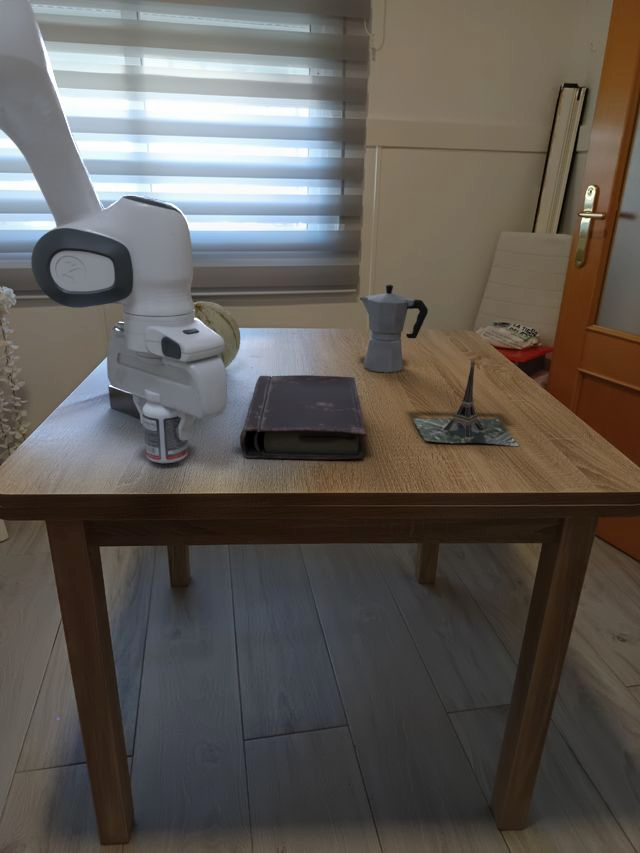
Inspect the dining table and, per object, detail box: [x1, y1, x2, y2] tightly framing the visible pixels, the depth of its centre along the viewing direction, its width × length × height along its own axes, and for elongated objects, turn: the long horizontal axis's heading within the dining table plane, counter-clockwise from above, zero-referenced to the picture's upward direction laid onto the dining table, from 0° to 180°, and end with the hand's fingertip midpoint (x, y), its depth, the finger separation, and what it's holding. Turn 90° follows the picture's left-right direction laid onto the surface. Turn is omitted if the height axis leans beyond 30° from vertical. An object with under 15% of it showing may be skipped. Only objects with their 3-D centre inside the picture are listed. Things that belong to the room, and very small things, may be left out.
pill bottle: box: [143, 389, 189, 464], centre depth 78 cm, size 6×6×10 cm
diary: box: [239, 374, 367, 461], centre depth 93 cm, size 19×25×5 cm
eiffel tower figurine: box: [412, 357, 520, 447], centre depth 91 cm, size 15×10×13 cm
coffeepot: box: [359, 284, 429, 374], centre depth 123 cm, size 15×9×18 cm, turn 61°
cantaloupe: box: [193, 300, 241, 369], centre depth 116 cm, size 15×15×15 cm
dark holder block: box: [107, 384, 140, 420], centre depth 101 cm, size 16×14×4 cm
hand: (166, 431), depth 79 cm, fingers closed on pill bottle, 5 cm apart
